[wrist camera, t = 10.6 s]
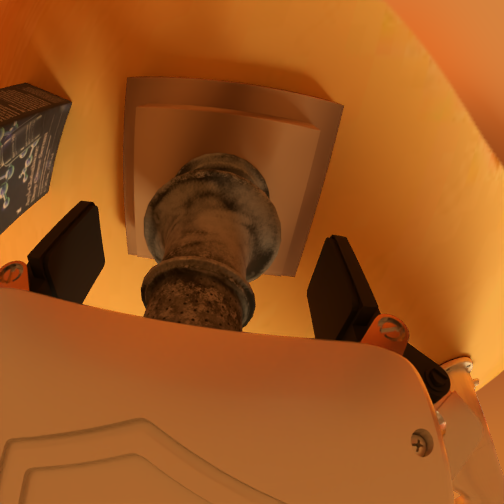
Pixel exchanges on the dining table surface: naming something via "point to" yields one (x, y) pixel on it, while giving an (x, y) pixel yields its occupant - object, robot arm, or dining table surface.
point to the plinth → (228, 147)
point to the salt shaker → (209, 243)
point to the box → (27, 146)
